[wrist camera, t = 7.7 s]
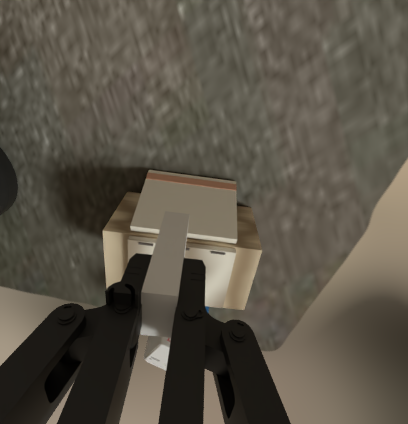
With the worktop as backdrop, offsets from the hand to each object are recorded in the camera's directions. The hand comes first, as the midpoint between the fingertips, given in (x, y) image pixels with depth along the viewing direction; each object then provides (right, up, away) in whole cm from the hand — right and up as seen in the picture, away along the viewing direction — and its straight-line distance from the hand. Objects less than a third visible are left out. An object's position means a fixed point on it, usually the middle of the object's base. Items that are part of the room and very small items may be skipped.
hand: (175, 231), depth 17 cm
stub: (0, +2, +17) cm, 17 cm away
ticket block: (-1, -1, +24) cm, 24 cm away
